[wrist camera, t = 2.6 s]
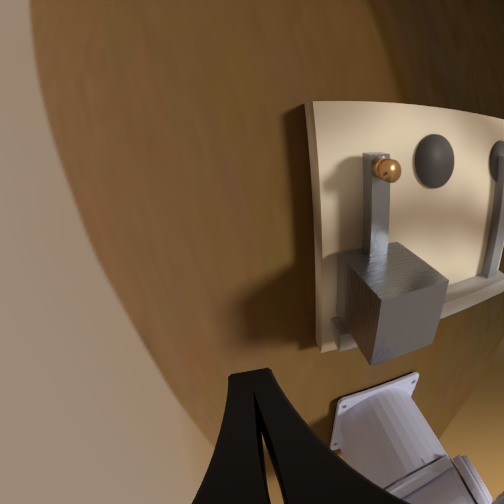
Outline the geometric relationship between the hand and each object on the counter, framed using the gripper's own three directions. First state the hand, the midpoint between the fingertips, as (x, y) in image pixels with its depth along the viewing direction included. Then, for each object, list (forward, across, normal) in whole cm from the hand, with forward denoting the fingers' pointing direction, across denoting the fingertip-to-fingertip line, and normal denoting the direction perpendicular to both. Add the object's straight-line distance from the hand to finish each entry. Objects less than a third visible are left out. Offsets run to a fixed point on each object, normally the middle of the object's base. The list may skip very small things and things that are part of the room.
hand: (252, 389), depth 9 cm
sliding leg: (+6, -7, -2) cm, 9 cm away
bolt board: (+7, -13, -2) cm, 15 cm away
